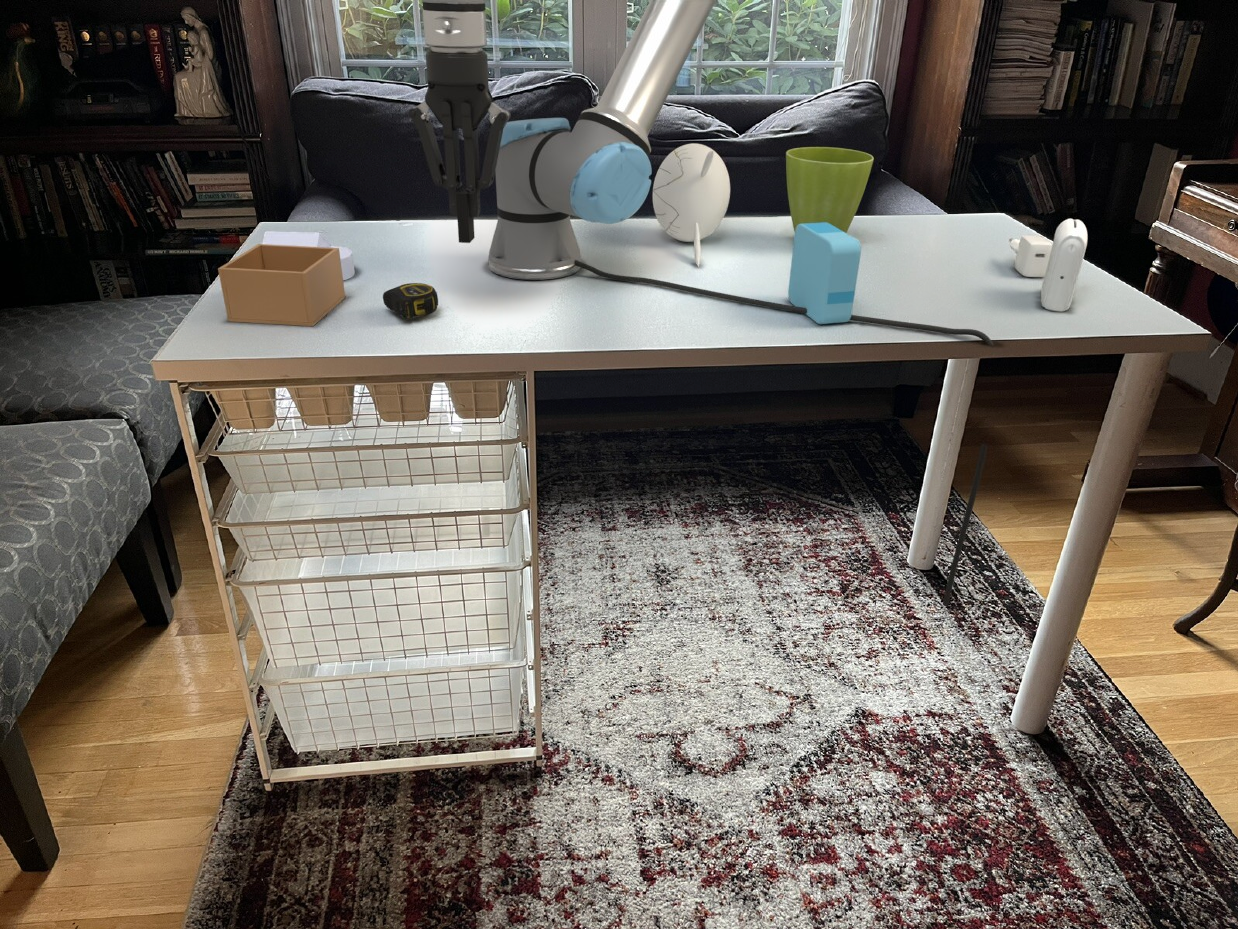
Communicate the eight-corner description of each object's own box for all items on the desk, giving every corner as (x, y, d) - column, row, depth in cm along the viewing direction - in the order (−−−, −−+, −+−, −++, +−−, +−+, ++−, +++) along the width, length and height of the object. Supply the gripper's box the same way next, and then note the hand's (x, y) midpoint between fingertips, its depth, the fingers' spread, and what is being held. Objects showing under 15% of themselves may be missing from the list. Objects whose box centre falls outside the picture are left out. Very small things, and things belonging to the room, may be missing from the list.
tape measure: (382, 311, 132) (379, 286, 130) (427, 303, 135) (424, 278, 133) (401, 326, 127) (398, 300, 125) (447, 317, 130) (445, 291, 128)
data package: (850, 325, 131) (863, 241, 125) (821, 327, 130) (832, 243, 124) (813, 298, 141) (823, 219, 135) (786, 300, 140) (795, 221, 134)
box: (345, 297, 137) (339, 247, 133) (313, 326, 126) (305, 273, 123) (266, 293, 138) (258, 243, 134) (228, 321, 127) (217, 268, 124)
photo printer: (1070, 313, 137) (1093, 231, 131) (1039, 309, 138) (1060, 227, 132) (1068, 293, 145) (1089, 214, 139) (1039, 289, 147) (1058, 211, 140)
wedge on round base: (262, 282, 142) (345, 284, 142) (254, 239, 139) (340, 241, 139) (281, 264, 150) (361, 266, 150) (275, 223, 147) (356, 225, 147)
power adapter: (999, 258, 161) (1007, 225, 159) (1027, 259, 161) (1035, 226, 158) (1019, 278, 152) (1028, 242, 149) (1049, 279, 151) (1058, 243, 149)
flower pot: (799, 230, 175) (809, 143, 168) (873, 244, 168) (887, 153, 160) (762, 247, 165) (771, 154, 157) (839, 262, 157) (852, 166, 149)
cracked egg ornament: (654, 137, 169) (665, 143, 146) (728, 145, 170) (750, 151, 147) (643, 242, 176) (652, 263, 152) (714, 248, 177) (734, 270, 153)
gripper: (394, 49, 110) (411, 244, 121) (501, 53, 109) (508, 250, 120) (413, 44, 116) (427, 230, 128) (514, 48, 115) (519, 235, 127)
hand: (466, 239), depth 124 cm, fingers closed
